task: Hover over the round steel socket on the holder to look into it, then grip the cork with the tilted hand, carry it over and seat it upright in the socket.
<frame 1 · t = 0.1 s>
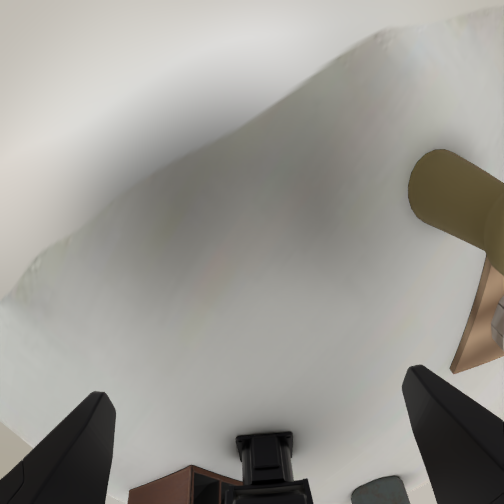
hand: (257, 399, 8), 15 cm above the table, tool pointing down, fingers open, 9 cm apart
bottle: (375, 486, 45), on the table
cork: (438, 187, 21), on the table
letter holder: (182, 487, 40), on the table
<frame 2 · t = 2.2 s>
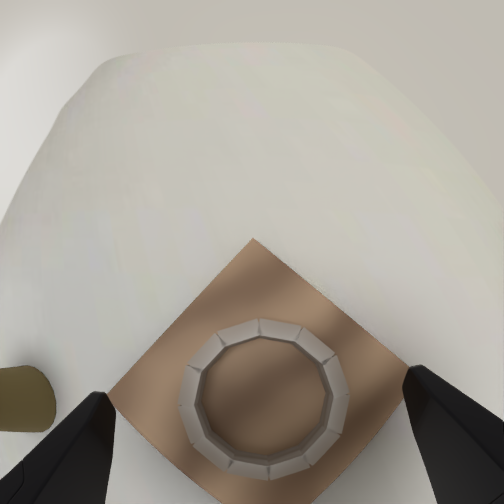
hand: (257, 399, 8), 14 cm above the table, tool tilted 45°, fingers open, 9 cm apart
socket holder: (263, 397, 20), on the table
cork: (31, 399, 20), on the table
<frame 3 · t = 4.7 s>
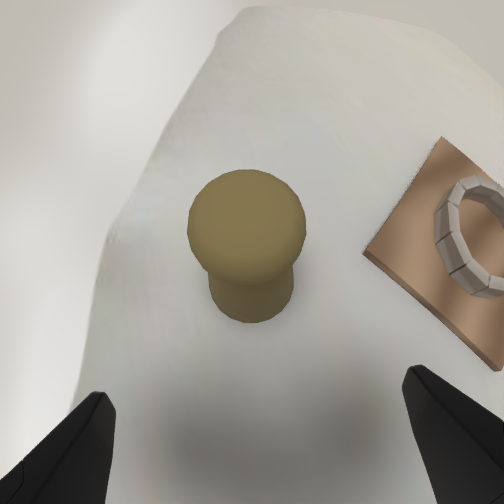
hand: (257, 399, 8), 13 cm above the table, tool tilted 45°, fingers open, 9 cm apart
socket holder: (473, 245, 23), on the table
cork: (251, 281, 23), on the table
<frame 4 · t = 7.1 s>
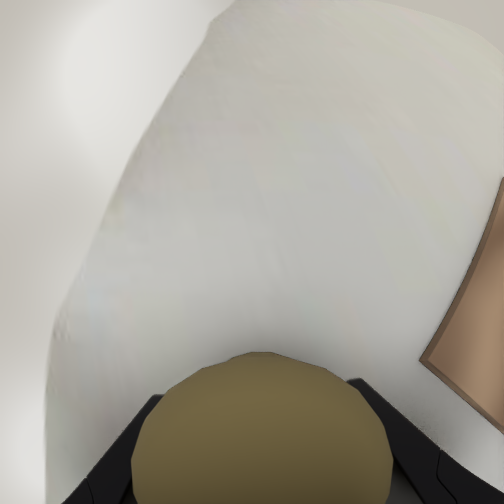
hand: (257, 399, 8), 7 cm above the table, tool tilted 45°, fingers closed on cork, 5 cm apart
cork: (260, 411, 14), on the table, touching gripper
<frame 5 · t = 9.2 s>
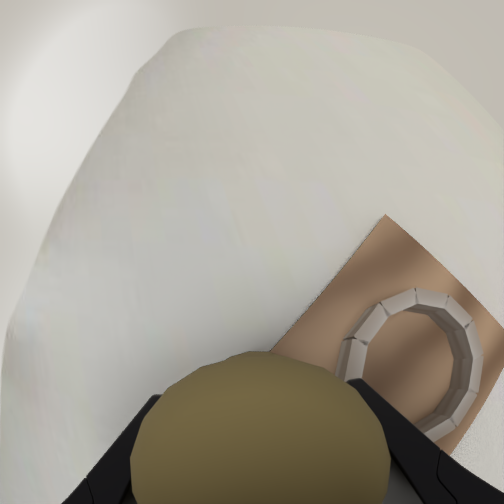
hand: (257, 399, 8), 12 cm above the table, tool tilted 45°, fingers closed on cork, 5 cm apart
socket holder: (400, 369, 20), on the table
cork: (257, 410, 14), point 5 cm above the table, touching gripper
when the fingers open (8 cm above the table, at t = 11.2 s): cork stays where it is, resting on socket holder.
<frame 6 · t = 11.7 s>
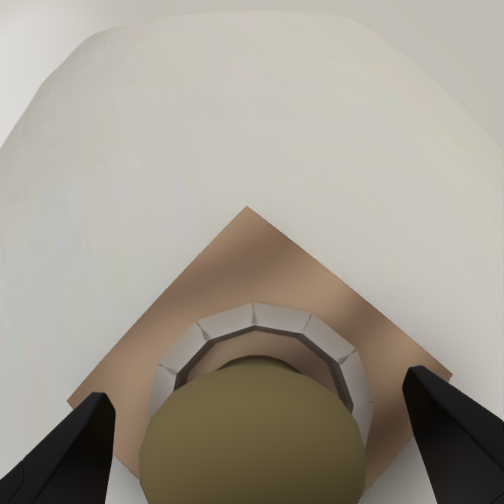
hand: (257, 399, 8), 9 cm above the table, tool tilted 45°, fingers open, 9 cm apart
socket holder: (260, 406, 16), on the table
cork: (256, 411, 15), point 1 cm above the table, touching socket holder
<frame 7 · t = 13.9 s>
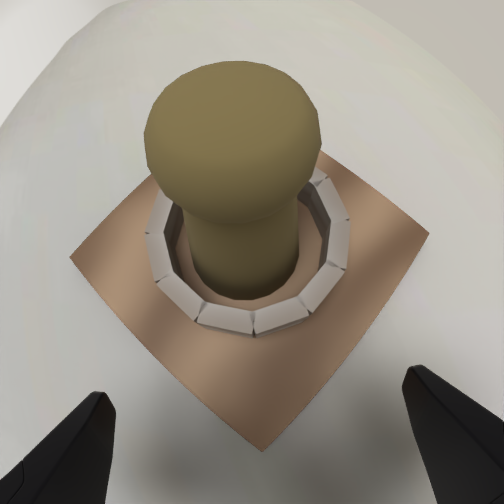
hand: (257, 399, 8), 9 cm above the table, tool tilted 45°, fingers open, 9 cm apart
socket holder: (249, 250, 19), on the table
cork: (245, 248, 18), point 1 cm above the table, touching socket holder
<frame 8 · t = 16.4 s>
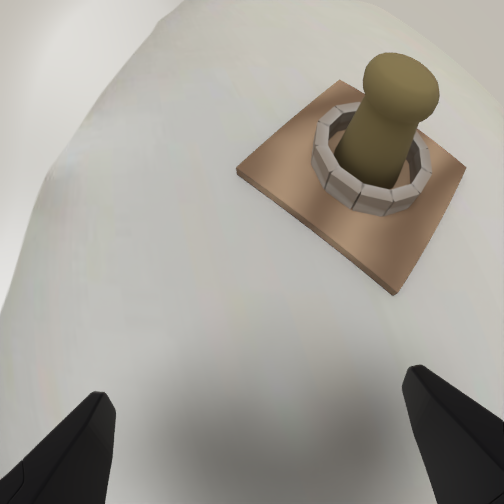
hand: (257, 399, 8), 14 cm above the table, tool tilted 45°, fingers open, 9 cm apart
socket holder: (365, 169, 27), on the table
cork: (365, 165, 26), point 1 cm above the table, touching socket holder
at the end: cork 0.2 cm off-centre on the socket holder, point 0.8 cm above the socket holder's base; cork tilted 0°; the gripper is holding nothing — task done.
